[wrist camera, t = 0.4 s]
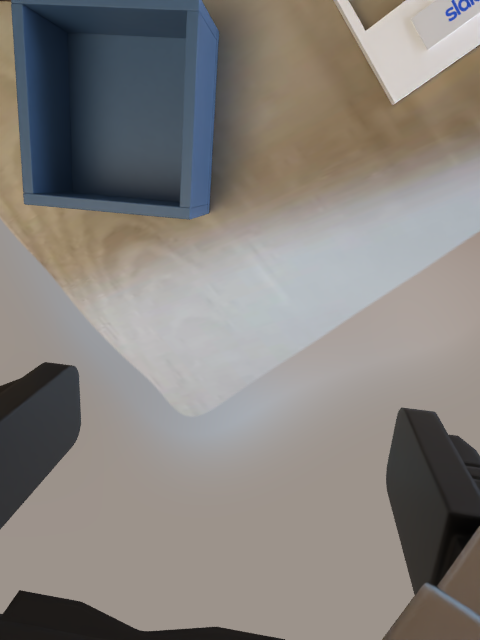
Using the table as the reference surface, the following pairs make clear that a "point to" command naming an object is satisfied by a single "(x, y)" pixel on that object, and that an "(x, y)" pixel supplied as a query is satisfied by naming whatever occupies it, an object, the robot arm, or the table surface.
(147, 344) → the table surface
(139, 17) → the blue tote
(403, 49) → the photo frame
